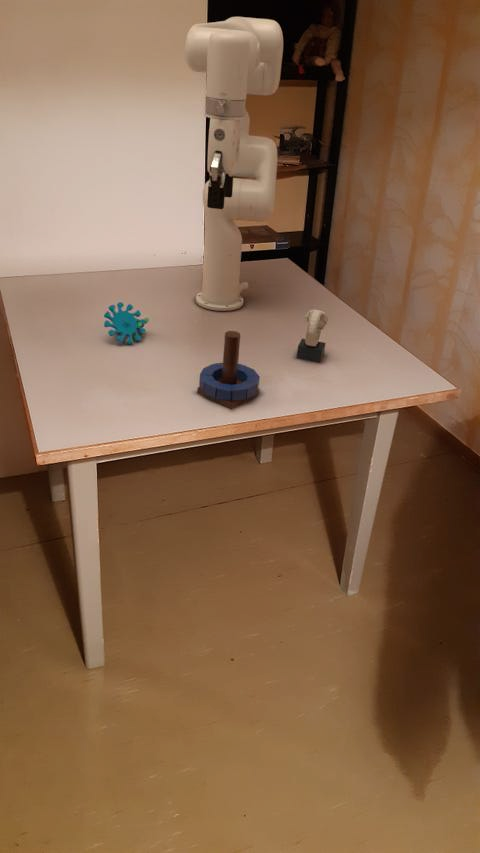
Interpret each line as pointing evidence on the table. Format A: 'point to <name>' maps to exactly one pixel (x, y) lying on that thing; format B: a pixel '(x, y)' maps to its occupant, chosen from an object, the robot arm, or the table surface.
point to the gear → (125, 323)
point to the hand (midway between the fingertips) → (219, 202)
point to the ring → (227, 390)
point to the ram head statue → (313, 337)
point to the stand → (229, 368)
